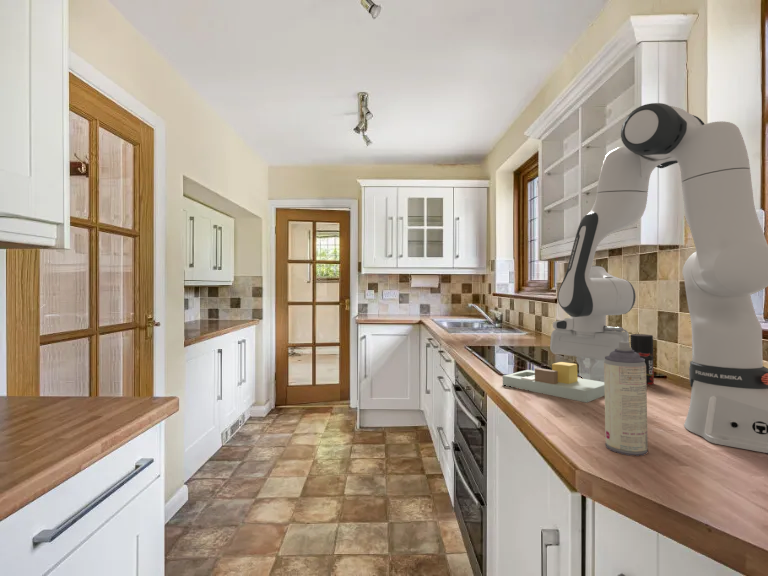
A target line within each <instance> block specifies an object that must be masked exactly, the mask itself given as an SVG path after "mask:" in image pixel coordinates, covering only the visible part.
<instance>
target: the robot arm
mask: <svg viewBox="0 0 768 576" xmlns="http://www.w3.org/2000/svg"><path fill="white" fill-rule="evenodd" d="M620 138H621V141H622V144H623V146H619V147H617V148H614V149H612V150H610V151H609V152H607V154H606V155H605V157H604V159H603V162H602V164H601V169H600V172H599V176H598V180H597V181H598V182H597V188H596V195H595V201H594V203H593V205H592V207H591V209H590V211H589V212H588V213H587V214H585V215H584V216H582V219H581V220H580V223H579V225H578V227H577V230H576V234H575V237H574V241H573V245H572V249H571V252H570V256H569V260H568V263H567V268H566V272H565V275H564V278H563V279H562V282H561V283H560V285H559V286H560V287H559V289H558V292H557V301H558V305H559V307H561V309H562V310H563V311H564V312H565V313H566V314H567V315H569V318H568V317H567V318H564V319H559V320H557V321H553V323H552V328H553V329H554V330H552V332H551V335H550V341H549V342H550V345H549V347H550V348H549V349H550V350H549V351H550V352H551V353H552V354H556V355H563V356H568V357H570V356H571V357H576V358H575V359H576V364H577V365H578V367H579V366H580V373H582V374H588V375H593V374H594V368H595V367H596V365H597V364H598V360H603V361H605V357H606V356H609V355H610V353H611V352H612V351H615V349H617V347H619V342H621V341H624V342H629V343H630V334H629V331H627V329H624V327H621V326H617V327H616V326H610V325H609V326H608V325H607V316H620V315H626V314H628V313H629V312H630V311H631V310H632V309H634V308H633V307H634V306H635V303H636V297H637V296H636V291H635V288H634V286H633V284H632V283H631V282H630V281H629V280H627V279H625V278H624V279H623V278H619V277H617V276H614V275H612V274H611V273H608V272H607V270H606V269H605V268H604V267H603V266H600V265H593V263H594V259H595V255H596V251H597V249H598V246H599V245H600V243H601V242H602V241H603V240H604V239H606V237H608V236H611V235H612V234H615V233H618V232H620V231H623V230H626V229H628V228H629V227H632V226H633V225H634V224H636V223H637V222H638V221H639V220H640V219H641V218H642V217H643V215H644V213H645V211H646V207H647V203H648V196H649V195H648V193H649V185H650V180H651V179H650V178H651V175H652V172H653V171H654V170H655V169H656V168H658V169H665V168H667V167H669V166H673V165H675V164H678V165H679V169H680V178H681V189H682V191H681V192H682V200H683V210H684V218H685V219H684V220H685V222H686V223H687V225H688V227H689V229H690V233H691V236H692V239H693V243H694V247H695V252H693V253H692V254H690V255H689V257H688V258H687V259H686V261H685V262H684V264H683V267H682V277H683V280H684V289H685V295H686V302H687V307H688V308H687V309H688V312H689V317H690V324H691V352H692V353H691V356H692V357H691V359H692V360H691V361H689V367H688V370H689V371H688V373H689V375H688V377H689V385H690V388H691V392H690V393H691V394H690V401H689V402H690V403H689V407H688V411H687V415H686V419H685V421H684V423H683V426H684V428H685V429H686V430H687V431H690V432H691V433H693V434H696V435H697V436H701V437H702V438H703V439H705V440H706V441H707V442H709V443H712V444H716V445H721V446H727V447H732V448H737V449H743V450H749V451H754V452H759V453H764V454H768V368H767V367H765V366H764V365H763V363H764V361H763V328H762V325H761V322H760V321H759V319H758V317H757V315H756V314H757V313H756V311H755V309H754V305H753V304H754V303H753V300H752V295H755V294H756V293H759V292H761V291H762V290H763V289H766V288H767V287H768V242H767V240H766V239H767V238H766V236H765V234H764V231H763V229H762V226H761V223H760V220H759V218H758V215H757V212H756V208H755V207H756V206H755V200H754V192H753V191H754V190H753V182H752V175H751V174H752V173H751V166H750V165H751V164H750V160H749V154H748V150H747V146H746V143H745V140H744V137H743V135H742V132H741V130H740V128H739V127H738V125H736V124H735V123H733V122H730V121H720V120H719V121H712V122H708V123H704V121H703V120H702V119H701V118H700V117H698V116H697V115H694V114H691V113H689V112H688V111H686V110H684V109H683V108H680V107H676V106H673V105H669V104H666V103H662V102H652V103H646V104H644V105H640V106H639V107H636V108H635V109H633V110H632V111H631V112H630V113H629V114H628V115H627V117H626V118H625V119H624V121H623V123H622V125H621V129H620ZM585 358H589V359H590V363H592V364H591V366H590V367H586V366H585V364H584V362H583V361H584V360H585Z"/></svg>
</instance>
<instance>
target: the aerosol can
mask: <svg viewBox="0 0 768 576" xmlns="http://www.w3.org/2000/svg"><path fill="white" fill-rule="evenodd" d="M644 361H645V359H643V358H640V356H639V354H638V353H636V352H634V350H632V348H631V343H630V341H629V342H624V341H621V342H619V347H617V349H615V351H612V352H611V353H610V355H609V356H606V357H605V361H604V387H605V396H604V431H605V434H604V435H605V447H606V449H608V450H609V449H610V450H609V451H610V452H614V453H616V452H617V454H620V453H621V454H620V455H624V454H626V455H625V456H630V455H636V456H635V457H639V455H642V456H645V455H644V454H646V453H647V452H648V453H649V450H648V448H649V445H648V442H649V441H648V401H647V400H648V398H647V397H648V394H647V392H648V391H647V385H646V364H645V362H644ZM648 453H647V454H648ZM647 454H646V455H647Z"/></svg>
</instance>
